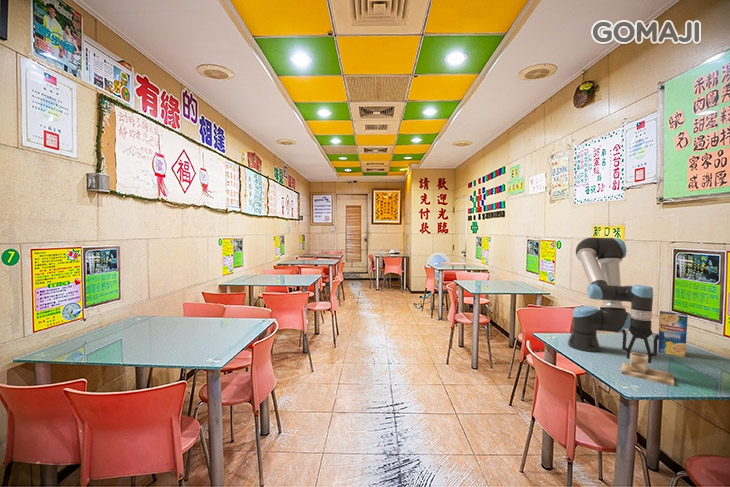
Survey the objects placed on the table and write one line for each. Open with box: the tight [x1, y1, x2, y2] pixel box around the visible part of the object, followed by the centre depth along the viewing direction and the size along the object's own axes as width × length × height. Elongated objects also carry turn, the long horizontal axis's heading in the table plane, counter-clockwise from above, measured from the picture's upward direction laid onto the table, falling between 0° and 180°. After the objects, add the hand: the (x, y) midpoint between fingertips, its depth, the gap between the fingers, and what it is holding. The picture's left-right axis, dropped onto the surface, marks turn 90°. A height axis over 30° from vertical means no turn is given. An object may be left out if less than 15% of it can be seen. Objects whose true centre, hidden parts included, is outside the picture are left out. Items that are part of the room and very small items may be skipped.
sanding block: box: [631, 351, 647, 374], centre depth 152 cm, size 5×8×7 cm, turn 139°
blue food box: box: [657, 310, 688, 358], centre depth 179 cm, size 7×11×22 cm, turn 49°
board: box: [620, 362, 675, 387], centre depth 150 cm, size 18×12×2 cm, turn 50°
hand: (638, 367), depth 152 cm, fingers closed on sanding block, 5 cm apart
